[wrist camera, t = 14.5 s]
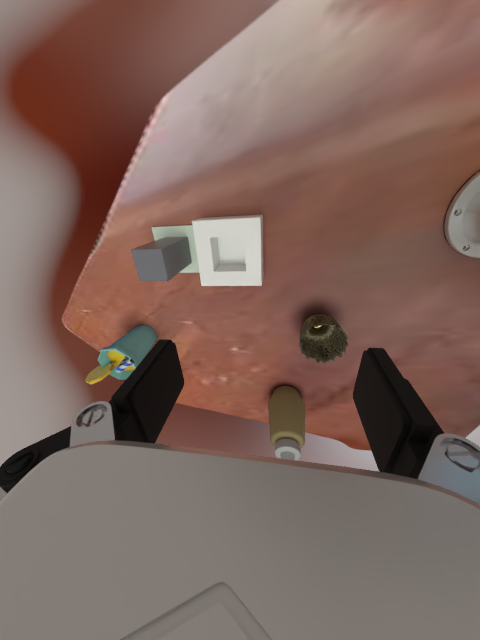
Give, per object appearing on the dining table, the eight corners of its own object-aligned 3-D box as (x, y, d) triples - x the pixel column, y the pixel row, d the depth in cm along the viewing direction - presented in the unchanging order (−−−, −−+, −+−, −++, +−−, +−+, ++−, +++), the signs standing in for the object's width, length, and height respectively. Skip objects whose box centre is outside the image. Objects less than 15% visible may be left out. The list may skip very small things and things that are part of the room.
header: (262, 214, 35) (260, 217, 31) (263, 276, 40) (261, 285, 36) (202, 217, 37) (191, 220, 33) (209, 276, 42) (201, 285, 38)
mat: (197, 224, 38) (196, 225, 37) (203, 271, 42) (202, 272, 41) (153, 227, 39) (151, 227, 39) (163, 271, 43) (162, 272, 42)
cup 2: (289, 328, 45) (291, 352, 38) (309, 297, 41) (315, 318, 34) (323, 342, 45) (330, 369, 38) (345, 313, 41) (358, 337, 34)
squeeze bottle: (292, 376, 50) (297, 457, 35) (309, 399, 53) (322, 484, 37) (262, 388, 54) (254, 467, 38) (280, 409, 56) (280, 492, 41)
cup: (157, 305, 47) (110, 347, 34) (181, 332, 49) (146, 381, 36) (117, 333, 52) (63, 378, 39) (141, 356, 55) (98, 406, 42)
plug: (188, 236, 38) (161, 249, 30) (191, 262, 40) (167, 281, 32) (163, 237, 39) (131, 249, 30) (169, 262, 41) (139, 280, 33)
